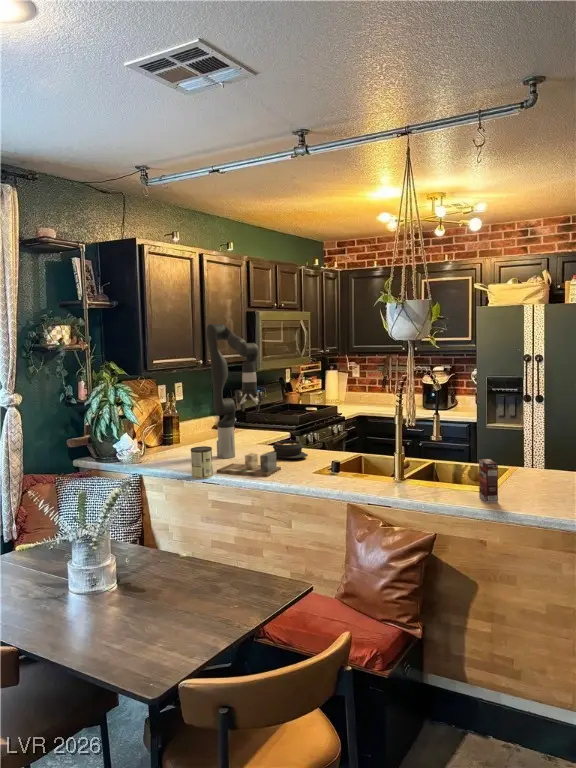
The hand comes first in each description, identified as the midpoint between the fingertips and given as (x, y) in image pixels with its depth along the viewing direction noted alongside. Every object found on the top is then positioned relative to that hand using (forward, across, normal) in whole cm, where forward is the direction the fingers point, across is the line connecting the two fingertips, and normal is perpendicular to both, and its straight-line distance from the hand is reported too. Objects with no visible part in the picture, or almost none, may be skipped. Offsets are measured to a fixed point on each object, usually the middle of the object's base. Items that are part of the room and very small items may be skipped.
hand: (250, 411), depth 326 cm
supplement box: (+28, +124, -35) cm, 132 cm away
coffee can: (+28, -10, -34) cm, 45 cm away
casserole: (+28, +12, +21) cm, 37 cm away
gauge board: (+28, +7, -17) cm, 34 cm away
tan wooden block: (+26, +8, -19) cm, 34 cm away
